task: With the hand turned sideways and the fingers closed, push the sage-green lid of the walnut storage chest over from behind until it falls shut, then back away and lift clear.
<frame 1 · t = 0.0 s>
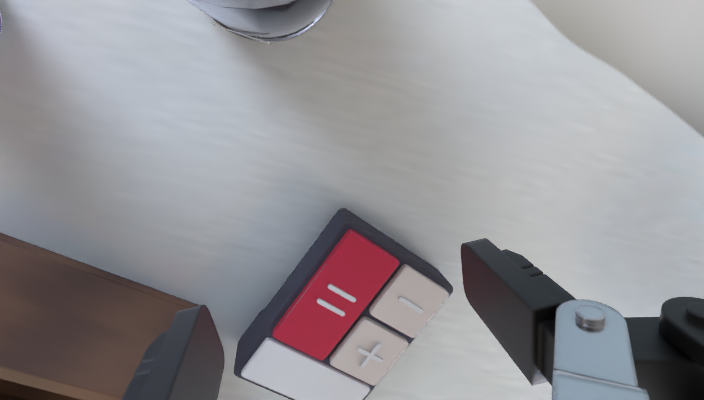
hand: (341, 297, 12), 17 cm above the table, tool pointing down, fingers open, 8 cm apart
calculator: (340, 304, 32), on the table
chest: (71, 339, 29), on the table
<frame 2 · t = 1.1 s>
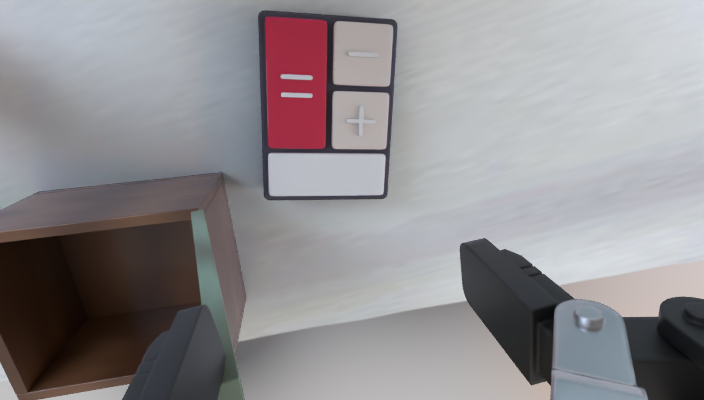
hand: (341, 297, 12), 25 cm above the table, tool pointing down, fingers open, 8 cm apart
lid: (230, 373, 20), point 18 cm above the table, hinge at 105.1°, touching gripper
calculator: (324, 110, 34), on the table
chest: (151, 249, 36), on the table
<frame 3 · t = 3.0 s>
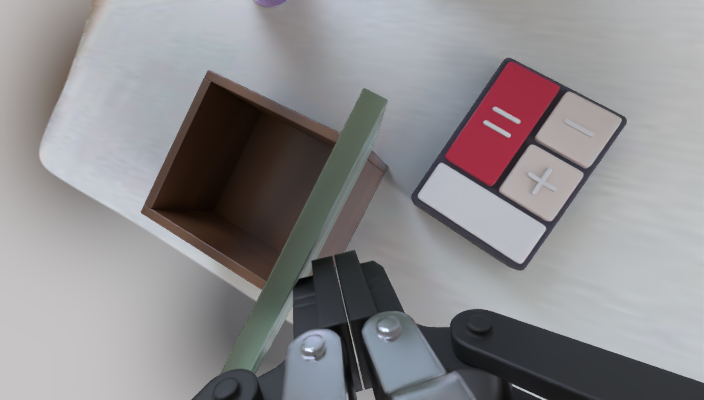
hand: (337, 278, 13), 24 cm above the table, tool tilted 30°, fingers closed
lid: (310, 248, 19), point 18 cm above the table, hinge at 103.6°, touching gripper
calculator: (506, 167, 35), on the table
chest: (293, 191, 39), on the table
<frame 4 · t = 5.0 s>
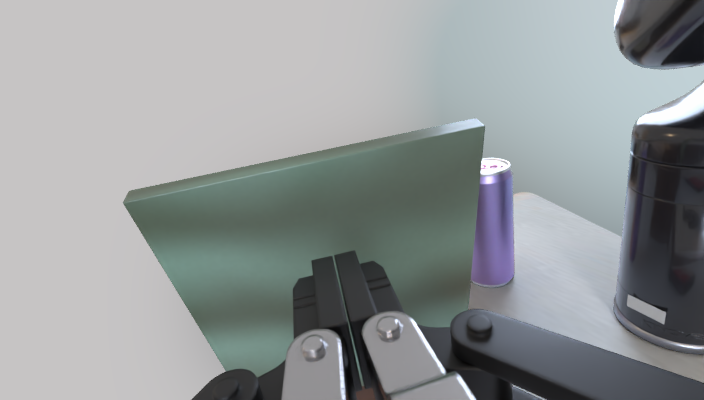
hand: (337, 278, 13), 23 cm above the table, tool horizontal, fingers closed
lid: (341, 297, 19), point 18 cm above the table, hinge at 105.1°
beverage can: (489, 277, 48), on the table
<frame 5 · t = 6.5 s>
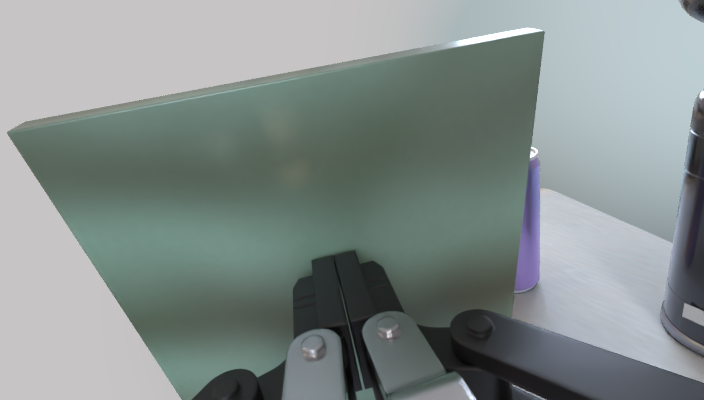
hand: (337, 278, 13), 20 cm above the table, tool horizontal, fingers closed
lid: (341, 299, 14), point 18 cm above the table, hinge at 100.3°, touching gripper
beverage can: (510, 281, 43), on the table
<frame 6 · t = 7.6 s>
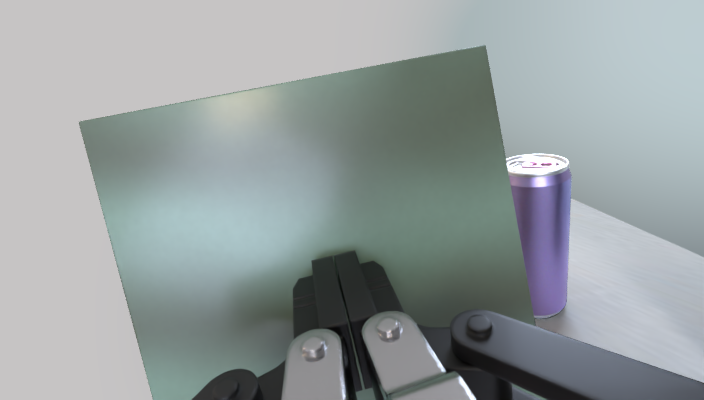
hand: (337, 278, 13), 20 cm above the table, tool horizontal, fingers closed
lid: (343, 313, 13), point 18 cm above the table, hinge at 73.6°
beverage can: (533, 303, 39), on the table
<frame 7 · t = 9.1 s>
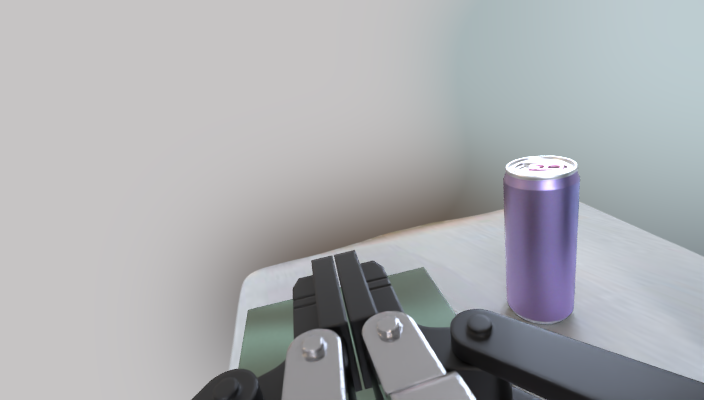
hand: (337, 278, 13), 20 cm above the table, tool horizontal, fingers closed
lid: (357, 375, 21), point 10 cm above the table, hinge at -0.1°
beverage can: (539, 308, 38), on the table
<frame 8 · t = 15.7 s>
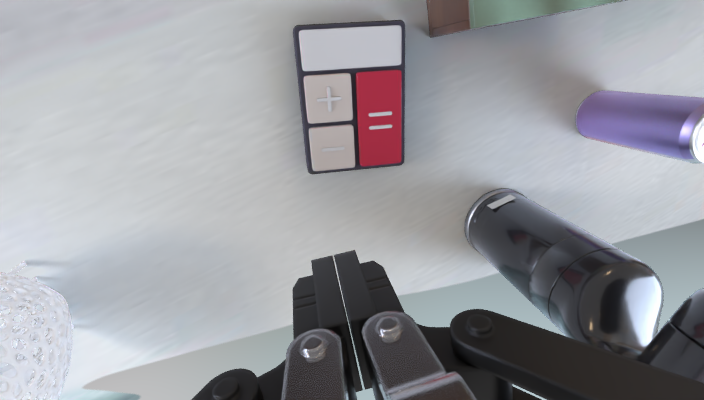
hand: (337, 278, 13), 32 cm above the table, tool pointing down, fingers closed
beverage can: (592, 114, 48), on the table
decorative heart: (48, 296, 44), on the table
calculator: (348, 98, 42), on the table
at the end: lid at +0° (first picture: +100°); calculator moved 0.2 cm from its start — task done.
